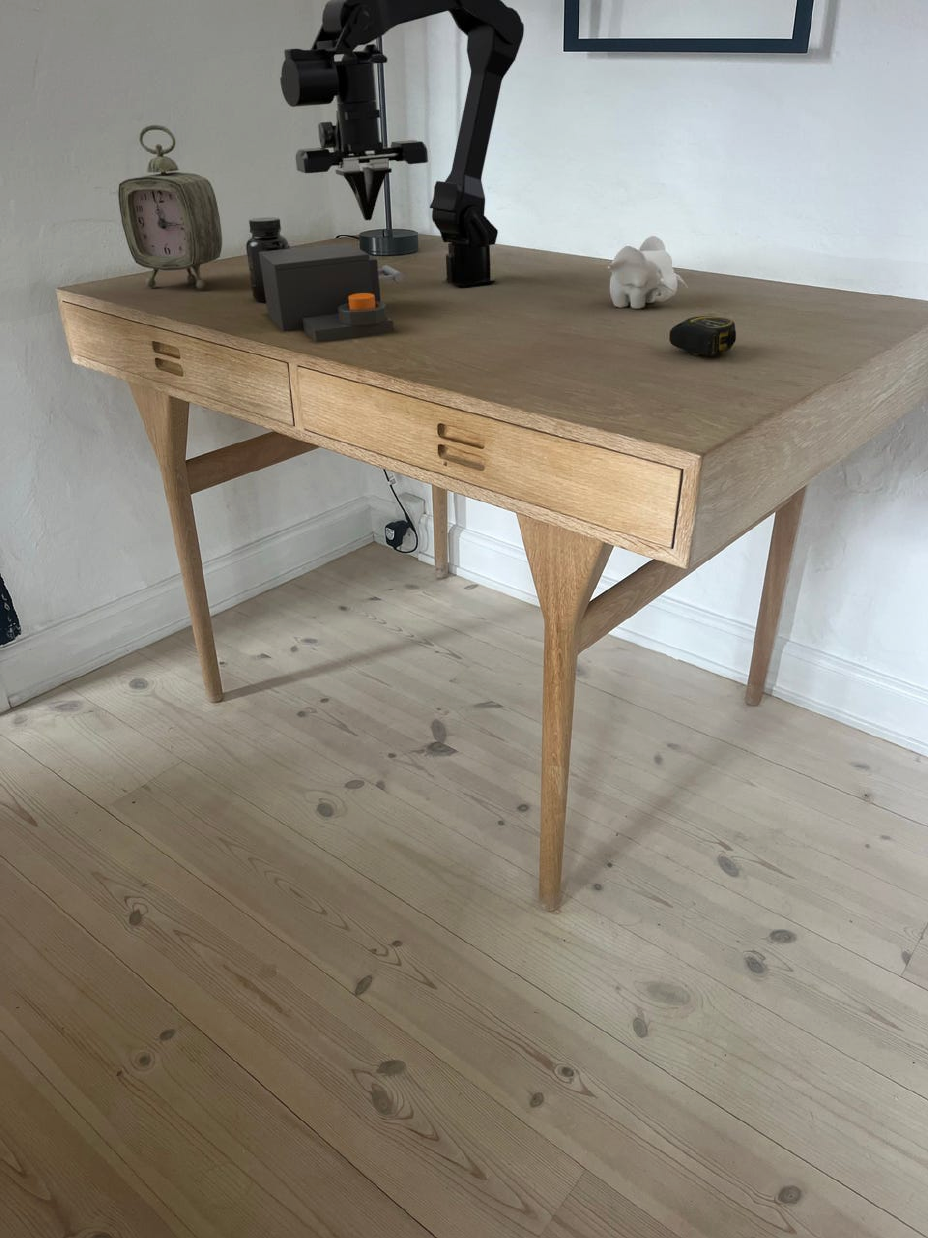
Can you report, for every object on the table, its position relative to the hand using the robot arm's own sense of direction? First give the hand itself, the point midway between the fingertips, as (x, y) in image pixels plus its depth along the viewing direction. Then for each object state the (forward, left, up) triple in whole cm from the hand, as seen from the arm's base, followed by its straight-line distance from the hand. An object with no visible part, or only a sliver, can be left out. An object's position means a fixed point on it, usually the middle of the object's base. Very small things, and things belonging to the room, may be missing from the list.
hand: (367, 219), depth 139 cm
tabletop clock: (+26, -29, -12) cm, 41 cm away
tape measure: (-27, +51, -12) cm, 59 cm away
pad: (+9, +17, -12) cm, 22 cm away
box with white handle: (+6, +7, -11) cm, 14 cm away
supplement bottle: (+14, -10, -12) cm, 21 cm away
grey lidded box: (+10, +7, -12) cm, 17 cm away
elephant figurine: (-34, +25, -12) cm, 44 cm away
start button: (+7, +18, -9) cm, 21 cm away
